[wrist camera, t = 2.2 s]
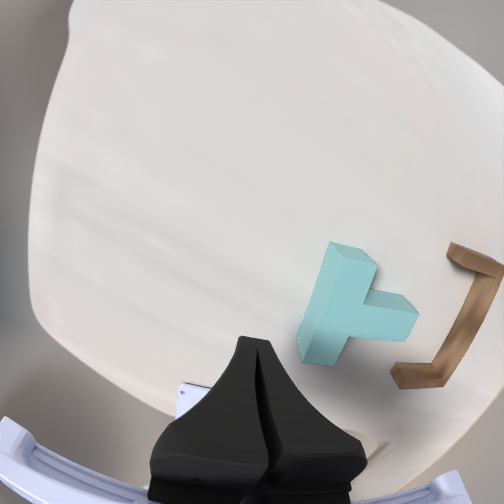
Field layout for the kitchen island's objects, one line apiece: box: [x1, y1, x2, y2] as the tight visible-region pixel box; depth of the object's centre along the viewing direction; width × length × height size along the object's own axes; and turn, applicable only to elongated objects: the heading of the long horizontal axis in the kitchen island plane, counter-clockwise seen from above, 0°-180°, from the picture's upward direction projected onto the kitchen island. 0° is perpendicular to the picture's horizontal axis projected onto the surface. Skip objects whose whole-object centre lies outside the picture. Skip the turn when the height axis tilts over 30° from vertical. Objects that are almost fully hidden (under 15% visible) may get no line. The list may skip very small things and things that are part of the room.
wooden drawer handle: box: [390, 242, 504, 389], centre depth 20 cm, size 13×6×2 cm, turn 167°
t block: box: [296, 241, 419, 366], centre depth 19 cm, size 8×8×3 cm
